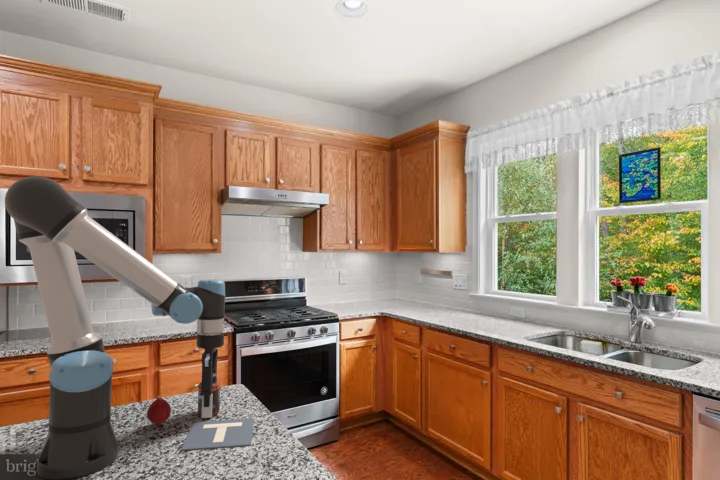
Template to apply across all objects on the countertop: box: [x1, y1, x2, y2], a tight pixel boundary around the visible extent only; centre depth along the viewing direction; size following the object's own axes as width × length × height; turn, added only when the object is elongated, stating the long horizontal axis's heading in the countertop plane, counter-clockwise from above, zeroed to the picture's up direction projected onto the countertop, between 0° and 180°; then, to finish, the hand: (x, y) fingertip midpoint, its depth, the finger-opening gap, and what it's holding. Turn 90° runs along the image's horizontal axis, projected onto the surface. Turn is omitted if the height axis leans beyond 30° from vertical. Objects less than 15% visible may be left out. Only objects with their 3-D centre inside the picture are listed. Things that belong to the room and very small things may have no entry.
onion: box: [146, 395, 172, 427], centre depth 115 cm, size 6×6×8 cm
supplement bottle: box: [197, 373, 221, 418], centre depth 123 cm, size 6×6×11 cm
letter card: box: [181, 418, 255, 451], centre depth 110 cm, size 16×16×1 cm
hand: (208, 412), depth 123 cm, fingers closed on supplement bottle, 6 cm apart
